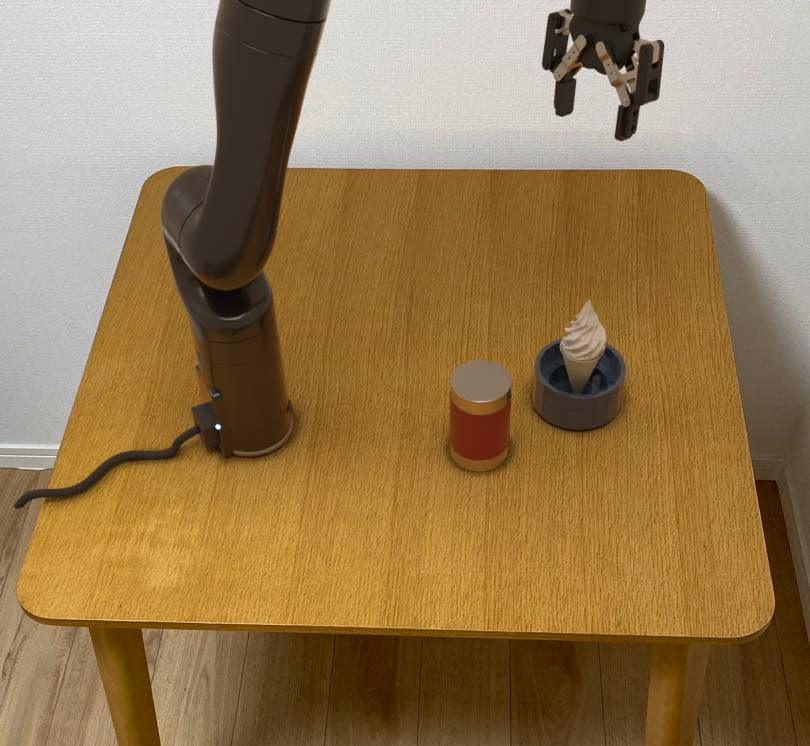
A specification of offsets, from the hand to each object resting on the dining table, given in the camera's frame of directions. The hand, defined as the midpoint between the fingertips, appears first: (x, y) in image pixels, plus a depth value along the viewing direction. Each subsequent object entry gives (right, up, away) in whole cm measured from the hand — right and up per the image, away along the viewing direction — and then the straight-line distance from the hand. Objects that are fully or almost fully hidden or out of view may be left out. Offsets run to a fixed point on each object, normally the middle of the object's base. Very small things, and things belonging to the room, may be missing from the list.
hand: (593, 126), depth 128 cm
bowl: (0, -28, +13) cm, 31 cm away
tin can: (-12, -34, +8) cm, 37 cm away
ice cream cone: (0, -28, +13) cm, 31 cm away
